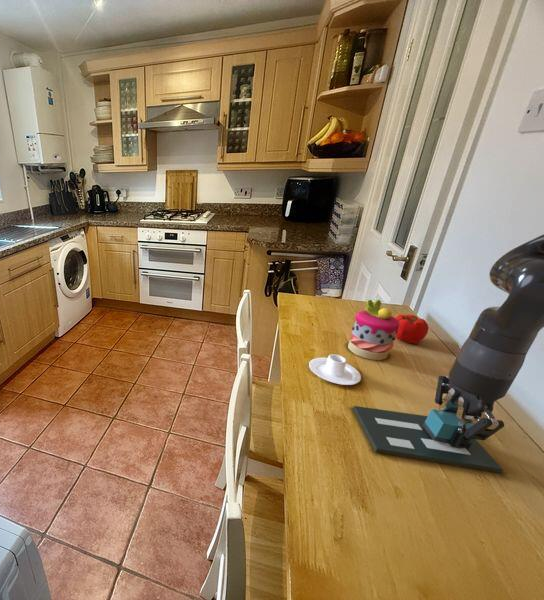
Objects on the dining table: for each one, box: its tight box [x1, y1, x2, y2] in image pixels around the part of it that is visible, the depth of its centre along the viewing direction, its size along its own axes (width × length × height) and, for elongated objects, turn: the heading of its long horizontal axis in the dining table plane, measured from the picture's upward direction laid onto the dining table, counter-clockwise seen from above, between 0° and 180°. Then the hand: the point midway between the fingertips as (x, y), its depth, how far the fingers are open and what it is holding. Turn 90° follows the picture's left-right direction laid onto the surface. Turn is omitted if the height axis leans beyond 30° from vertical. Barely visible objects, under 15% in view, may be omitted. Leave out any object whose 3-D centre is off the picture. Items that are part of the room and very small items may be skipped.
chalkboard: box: [352, 405, 504, 474], centre depth 64 cm, size 20×12×1 cm, turn 77°
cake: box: [347, 299, 400, 361], centre depth 91 cm, size 10×11×15 cm
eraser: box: [423, 408, 475, 447], centre depth 62 cm, size 6×4×4 cm, turn 76°
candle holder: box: [308, 353, 362, 386], centre depth 83 cm, size 12×12×4 cm
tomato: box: [394, 313, 429, 344], centre depth 99 cm, size 9×9×8 cm
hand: (448, 436), depth 63 cm, fingers closed on eraser, 4 cm apart
